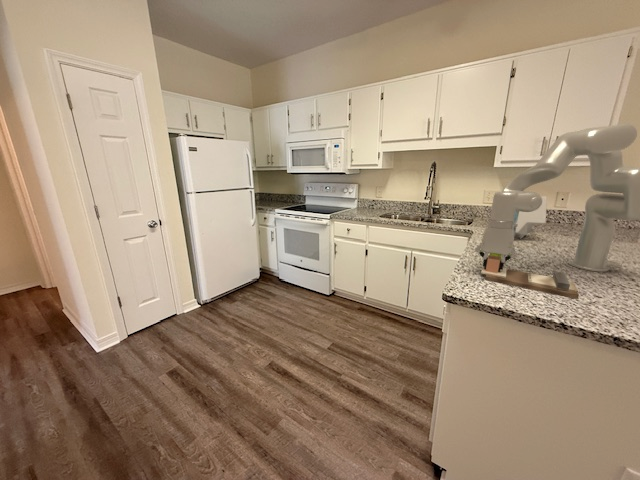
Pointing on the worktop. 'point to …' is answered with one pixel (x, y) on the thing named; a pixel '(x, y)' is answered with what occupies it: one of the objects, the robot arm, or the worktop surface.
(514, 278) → the ticket board
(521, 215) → the white box
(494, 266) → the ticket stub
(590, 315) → the worktop surface
